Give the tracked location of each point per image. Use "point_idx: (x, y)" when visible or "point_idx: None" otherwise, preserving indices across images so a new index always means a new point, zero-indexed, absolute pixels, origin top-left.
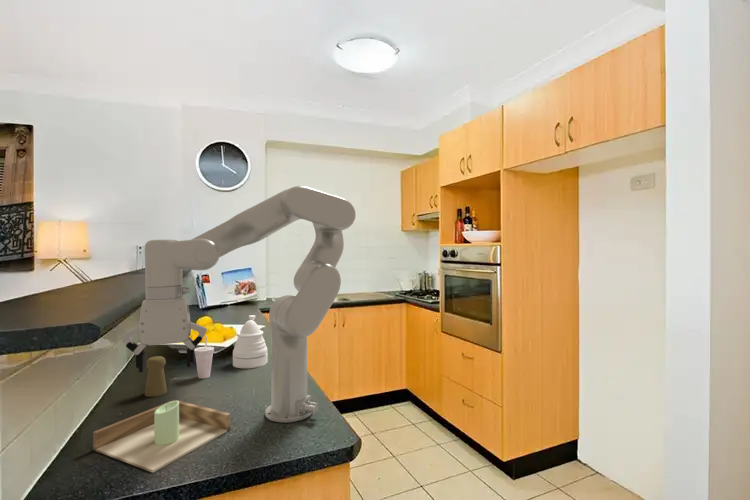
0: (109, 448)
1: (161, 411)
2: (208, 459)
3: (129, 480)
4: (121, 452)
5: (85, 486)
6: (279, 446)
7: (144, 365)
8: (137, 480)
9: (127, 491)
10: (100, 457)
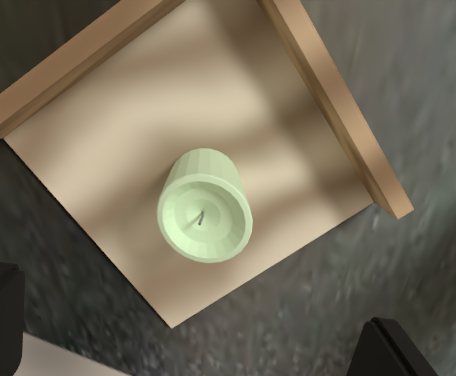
0: (42, 155)
1: (182, 202)
2: (292, 322)
3: (124, 331)
4: (83, 200)
5: (34, 313)
6: (453, 339)
7: (4, 325)
8: (141, 338)
9: (126, 368)
10: (30, 184)
